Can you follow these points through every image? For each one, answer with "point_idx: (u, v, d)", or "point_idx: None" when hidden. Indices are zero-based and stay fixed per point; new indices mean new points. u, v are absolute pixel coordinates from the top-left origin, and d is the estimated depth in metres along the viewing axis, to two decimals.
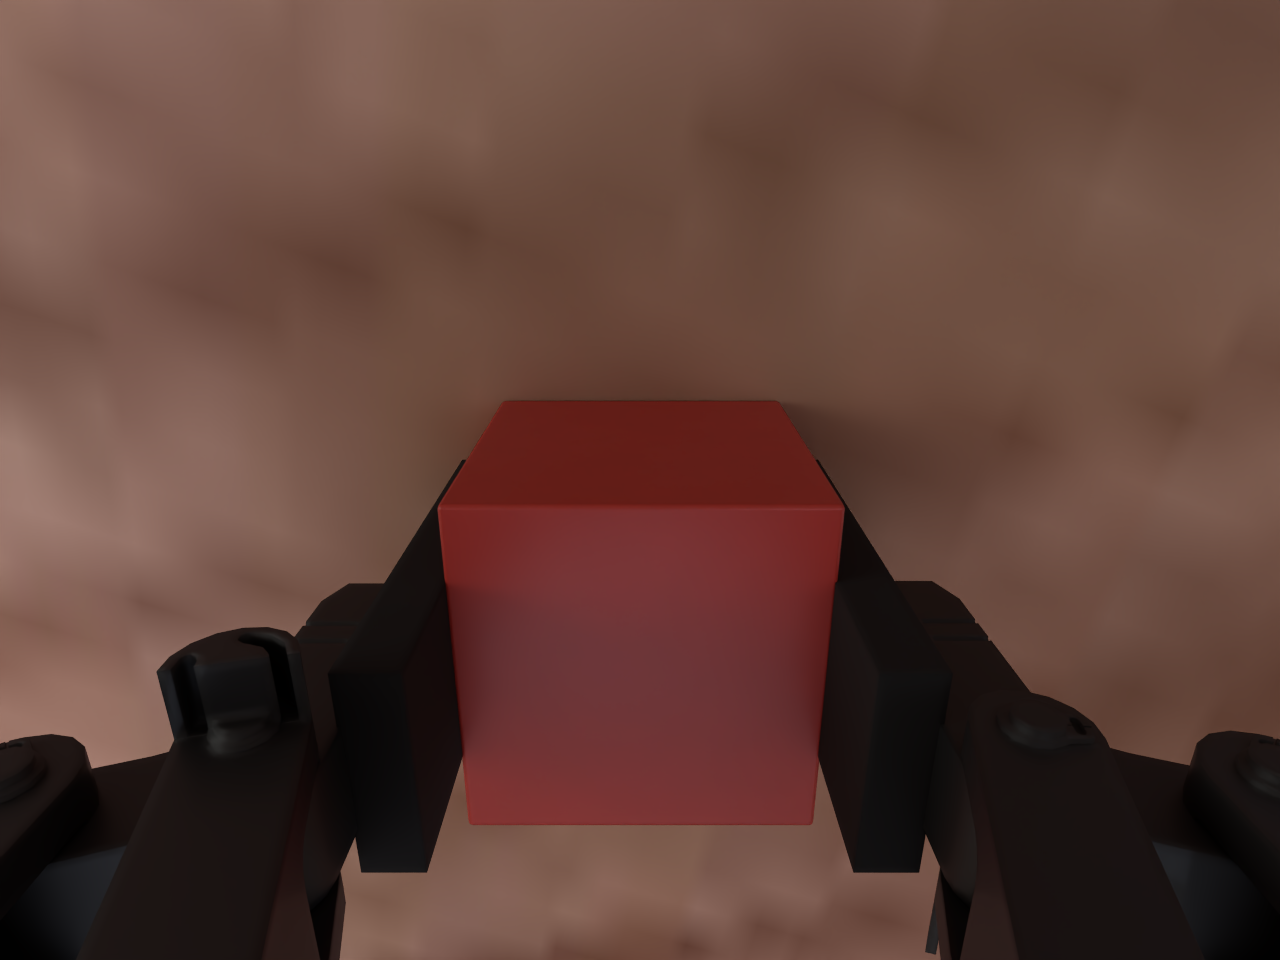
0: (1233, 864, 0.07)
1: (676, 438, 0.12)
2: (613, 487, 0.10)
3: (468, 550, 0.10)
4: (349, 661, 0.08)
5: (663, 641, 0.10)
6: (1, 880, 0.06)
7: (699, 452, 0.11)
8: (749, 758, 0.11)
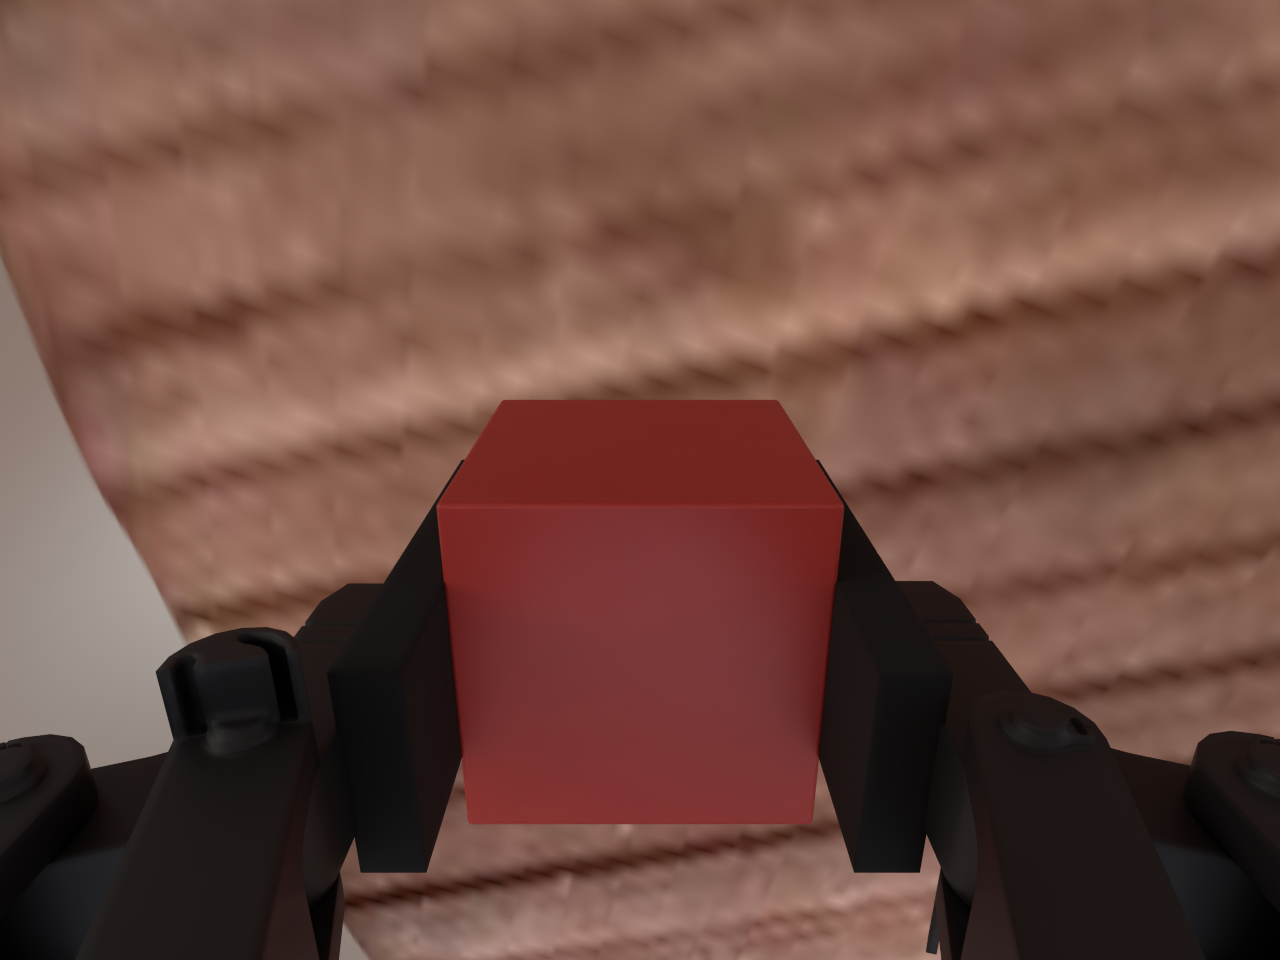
0: (1235, 864, 0.07)
1: (676, 436, 0.12)
2: (612, 485, 0.10)
3: (467, 549, 0.10)
4: (348, 661, 0.08)
5: (662, 640, 0.10)
6: (0, 880, 0.06)
7: (700, 451, 0.11)
8: (748, 757, 0.11)
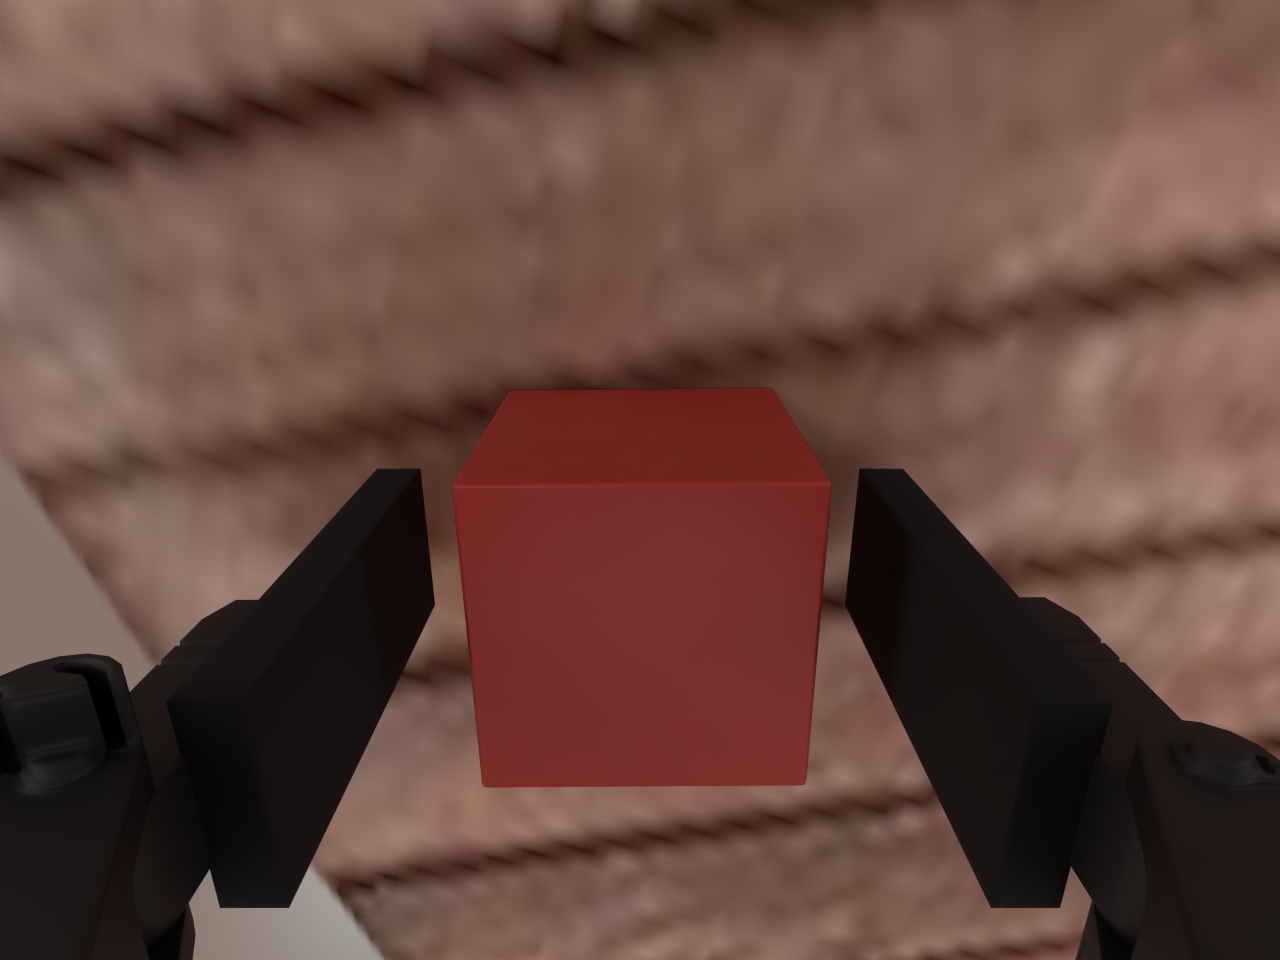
0: None
1: (674, 422, 0.13)
2: (615, 466, 0.11)
3: (481, 526, 0.10)
4: (193, 688, 0.08)
5: (663, 610, 0.11)
6: None
7: (697, 435, 0.12)
8: (745, 722, 0.11)
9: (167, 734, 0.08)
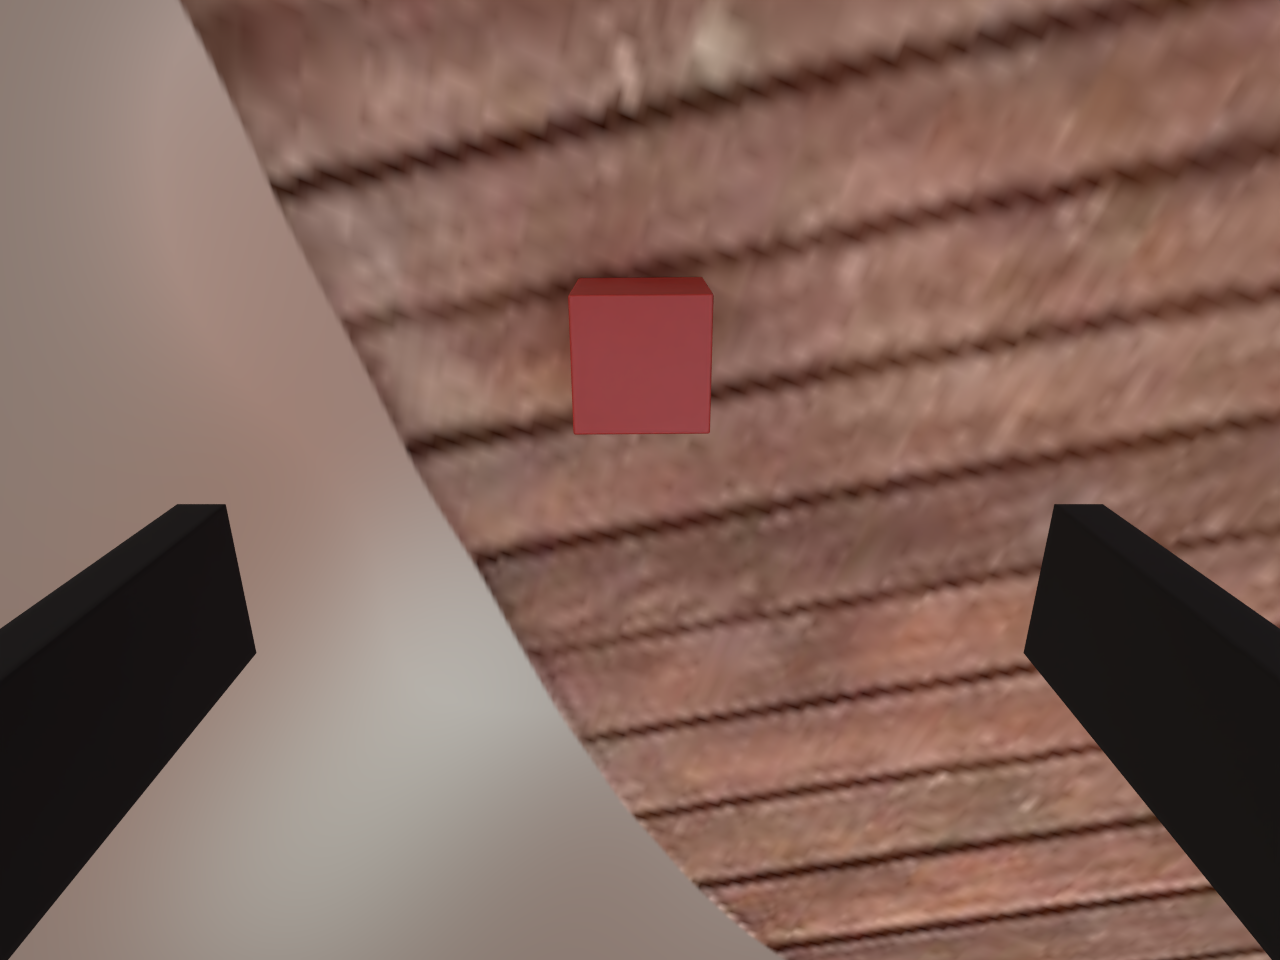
0: None
1: (655, 284, 0.29)
2: (630, 292, 0.27)
3: (578, 312, 0.27)
4: None
5: (649, 349, 0.27)
6: None
7: (664, 286, 0.28)
8: (683, 402, 0.28)
9: None
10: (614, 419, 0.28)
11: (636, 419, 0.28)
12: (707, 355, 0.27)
